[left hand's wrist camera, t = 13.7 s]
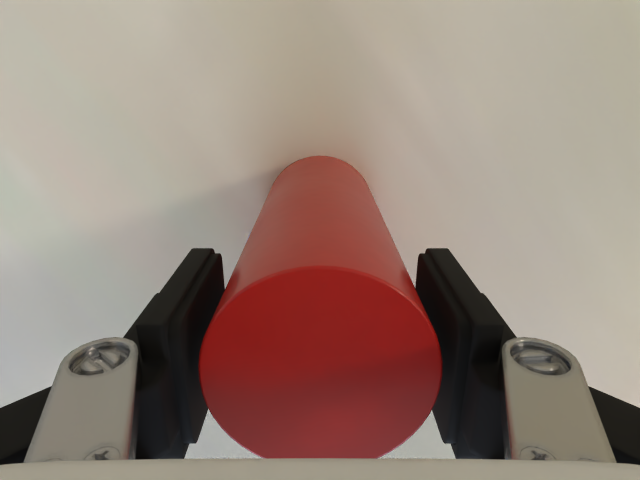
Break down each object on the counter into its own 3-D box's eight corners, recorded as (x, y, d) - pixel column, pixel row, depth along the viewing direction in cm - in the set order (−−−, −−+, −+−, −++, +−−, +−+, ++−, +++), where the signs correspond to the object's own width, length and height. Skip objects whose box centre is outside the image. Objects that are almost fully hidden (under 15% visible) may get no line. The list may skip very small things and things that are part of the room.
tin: (321, 275, 21) (323, 505, 10) (246, 209, 20) (148, 381, 8) (393, 206, 20) (494, 376, 8) (318, 132, 19) (317, 212, 7)
